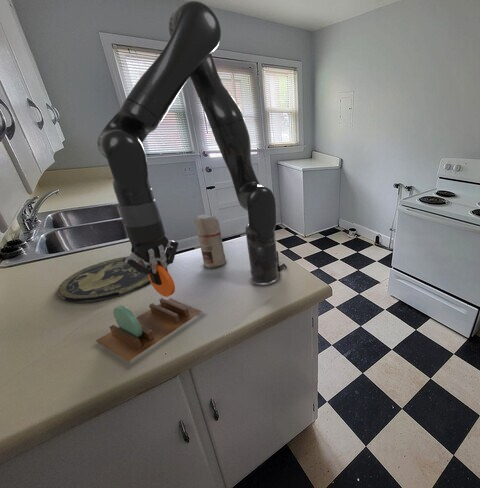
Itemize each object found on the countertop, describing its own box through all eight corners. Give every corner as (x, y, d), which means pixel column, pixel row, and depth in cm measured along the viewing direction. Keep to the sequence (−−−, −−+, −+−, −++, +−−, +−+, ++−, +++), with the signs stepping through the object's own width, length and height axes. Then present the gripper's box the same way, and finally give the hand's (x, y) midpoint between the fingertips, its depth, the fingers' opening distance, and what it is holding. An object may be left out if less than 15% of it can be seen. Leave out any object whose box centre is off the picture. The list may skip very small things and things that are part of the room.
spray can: (199, 264, 105) (189, 215, 97) (219, 257, 111) (210, 210, 103) (210, 271, 100) (200, 220, 92) (230, 263, 106) (222, 214, 98)
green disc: (125, 329, 70) (114, 300, 66) (146, 341, 66) (135, 311, 62) (120, 332, 69) (108, 303, 65) (141, 344, 65) (130, 314, 61)
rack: (171, 302, 83) (168, 291, 81) (203, 315, 77) (200, 304, 75) (97, 345, 67) (91, 332, 65) (130, 366, 61) (124, 353, 59)
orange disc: (157, 289, 75) (148, 261, 72) (178, 298, 71) (170, 268, 68) (153, 291, 74) (143, 263, 71) (174, 300, 70) (165, 270, 67)
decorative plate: (153, 248, 115) (170, 275, 94) (154, 252, 115) (172, 280, 94) (59, 271, 97) (54, 311, 76) (61, 276, 98) (57, 317, 77)
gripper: (121, 232, 57) (144, 300, 64) (178, 214, 68) (193, 273, 75) (102, 227, 60) (126, 292, 67) (160, 210, 71) (175, 268, 78)
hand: (161, 282), depth 71 cm, fingers closed on orange disc, 1 cm apart
